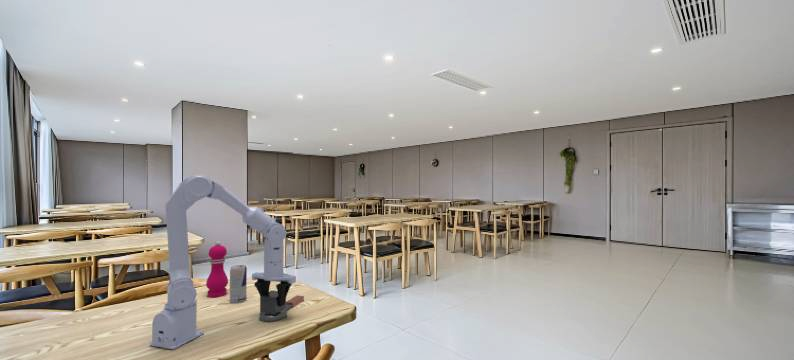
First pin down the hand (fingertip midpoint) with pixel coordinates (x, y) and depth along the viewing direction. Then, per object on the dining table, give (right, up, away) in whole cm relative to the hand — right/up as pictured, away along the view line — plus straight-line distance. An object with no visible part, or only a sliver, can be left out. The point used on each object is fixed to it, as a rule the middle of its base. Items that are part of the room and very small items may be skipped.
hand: (273, 304), depth 102 cm
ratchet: (+2, -4, +5) cm, 7 cm away
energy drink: (-18, -4, +14) cm, 23 cm away
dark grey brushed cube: (0, -2, 0) cm, 2 cm away
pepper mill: (-29, -4, +20) cm, 35 cm away
